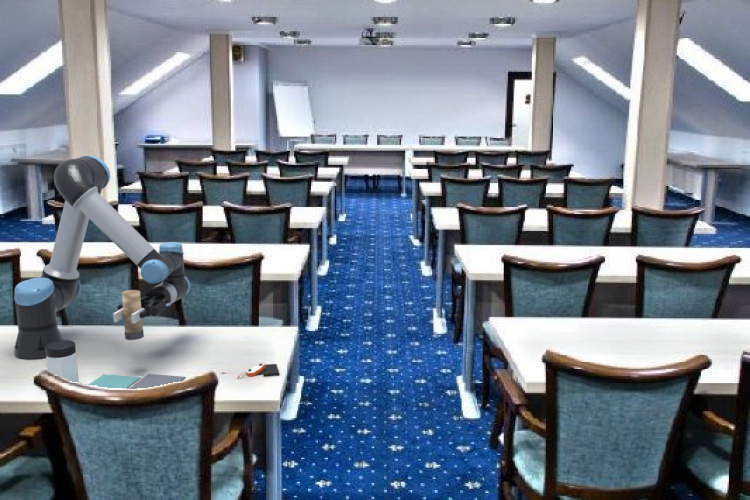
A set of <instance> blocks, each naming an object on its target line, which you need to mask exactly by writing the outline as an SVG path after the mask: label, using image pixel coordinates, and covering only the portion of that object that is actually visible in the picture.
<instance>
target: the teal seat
mask: <svg viewBox="0 0 750 500" xmlns="http://www.w3.org/2000/svg"><path fill="white" fill-rule="evenodd" d="M139 380H141V376H130V375H129V376H128V375H116V374H106V373H105V374H102V375H100V376H99V377H97V378H96V379H94V380H93V381H92V382H90V383H89V384H87V385H93V386H94V385H97V386H99V387H107V388H123V389H124V388H127V389H129V388H130V387H131V386H133V385H134V384H135V383H137V382H138V381H139Z"/></svg>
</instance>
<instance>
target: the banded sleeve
mask: <svg viewBox="0 0 750 500" xmlns="http://www.w3.org/2000/svg"><path fill="white" fill-rule="evenodd" d="M121 298H122V299H121V300H122V303H123V314H124V318H123V322H124V324H123V325H124V339H126V340H128V341H136V340H141V339H143V338H144V336H145V334H144V326H143V325H144V323H143V318H142V319H141V320H139V321H138V322H136V323H132V317H131V314H133V313H135V312H136V311H138V310H140V309H141V298H142V297H141V291H140V290H138V289H130V290H129V289H128V290H125V291H122V292H121Z"/></svg>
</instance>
